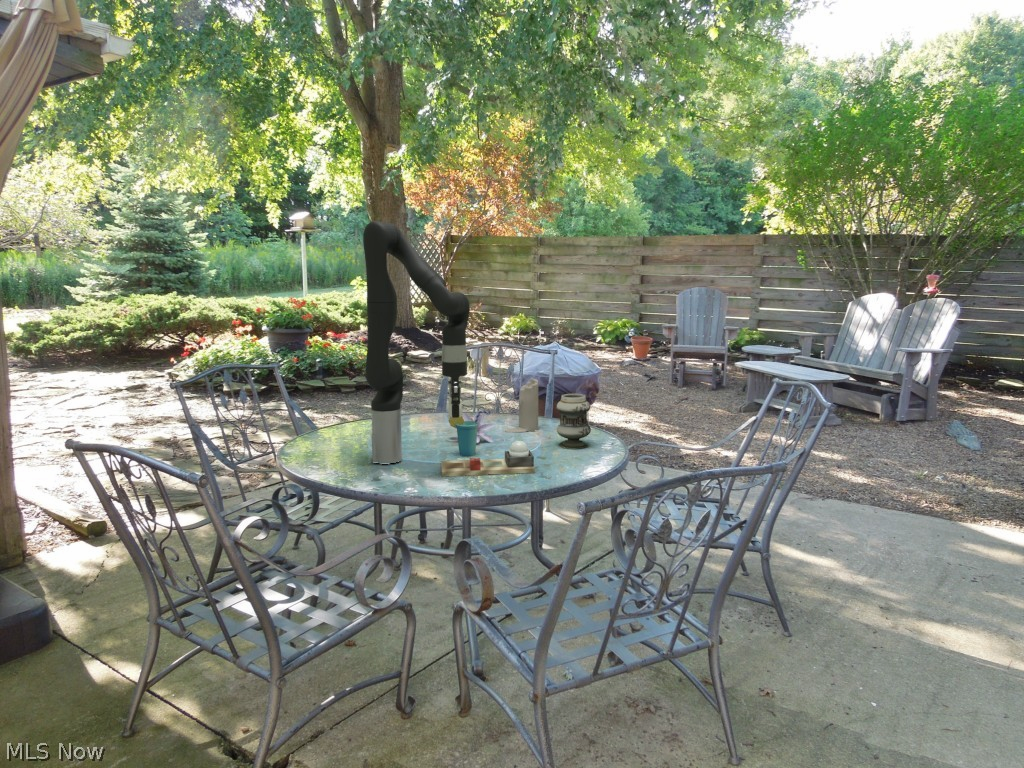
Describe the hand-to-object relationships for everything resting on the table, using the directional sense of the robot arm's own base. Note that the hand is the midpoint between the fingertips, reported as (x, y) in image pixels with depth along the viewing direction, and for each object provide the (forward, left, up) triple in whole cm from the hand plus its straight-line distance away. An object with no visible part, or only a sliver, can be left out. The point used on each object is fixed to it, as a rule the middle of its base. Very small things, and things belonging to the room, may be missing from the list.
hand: (455, 415), depth 201 cm
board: (+10, 0, -17) cm, 20 cm away
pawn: (0, 0, 0) cm, 0 cm away
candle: (+28, +51, -17) cm, 61 cm away
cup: (+6, +18, -17) cm, 26 cm away
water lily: (+9, +35, -18) cm, 40 cm away
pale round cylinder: (+19, 0, -15) cm, 24 cm away
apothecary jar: (+43, +25, -17) cm, 53 cm away
